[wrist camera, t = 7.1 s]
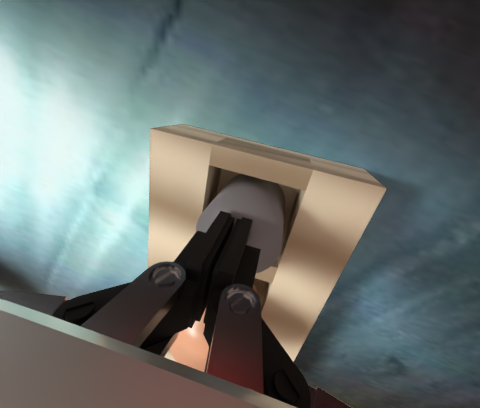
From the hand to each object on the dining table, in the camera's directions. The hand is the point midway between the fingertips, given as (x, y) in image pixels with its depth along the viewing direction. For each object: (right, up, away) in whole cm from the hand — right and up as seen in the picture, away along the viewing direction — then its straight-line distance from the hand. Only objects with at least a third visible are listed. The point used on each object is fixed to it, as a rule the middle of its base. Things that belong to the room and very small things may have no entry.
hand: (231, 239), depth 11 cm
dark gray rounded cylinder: (+1, +2, +5) cm, 5 cm away
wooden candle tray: (0, -4, +9) cm, 10 cm away
